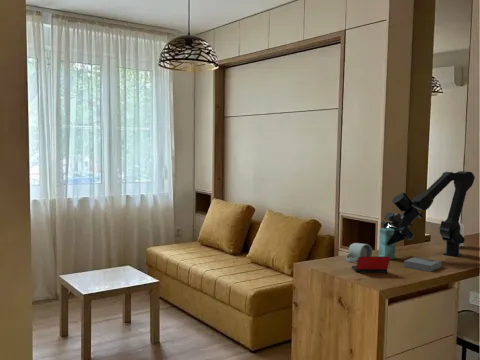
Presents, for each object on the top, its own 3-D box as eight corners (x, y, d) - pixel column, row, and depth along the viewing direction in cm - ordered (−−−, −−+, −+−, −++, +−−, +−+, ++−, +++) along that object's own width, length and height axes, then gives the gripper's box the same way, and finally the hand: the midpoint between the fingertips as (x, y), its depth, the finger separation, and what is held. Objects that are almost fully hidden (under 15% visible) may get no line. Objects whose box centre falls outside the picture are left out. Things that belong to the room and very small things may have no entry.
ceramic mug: (358, 257, 208) (358, 240, 207) (372, 260, 201) (372, 243, 200) (341, 260, 202) (341, 243, 201) (355, 264, 195) (355, 246, 194)
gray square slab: (415, 262, 199) (415, 256, 199) (441, 267, 191) (441, 261, 191) (403, 266, 191) (404, 260, 191) (430, 271, 183) (430, 265, 183)
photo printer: (456, 245, 238) (457, 221, 237) (464, 246, 234) (465, 222, 233) (445, 247, 232) (446, 222, 231) (453, 248, 228) (454, 224, 228)
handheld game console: (381, 268, 189) (382, 250, 188) (390, 275, 178) (390, 256, 178) (350, 268, 189) (351, 250, 188) (357, 275, 178) (358, 256, 178)
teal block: (388, 256, 210) (389, 228, 209) (394, 259, 205) (395, 230, 204) (378, 256, 209) (379, 228, 208) (384, 259, 204) (385, 230, 203)
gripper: (384, 203, 215) (362, 227, 213) (408, 208, 197) (384, 234, 195) (399, 220, 218) (377, 244, 216) (423, 226, 199) (400, 252, 198)
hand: (384, 243), depth 206 cm, fingers closed on teal block, 5 cm apart
